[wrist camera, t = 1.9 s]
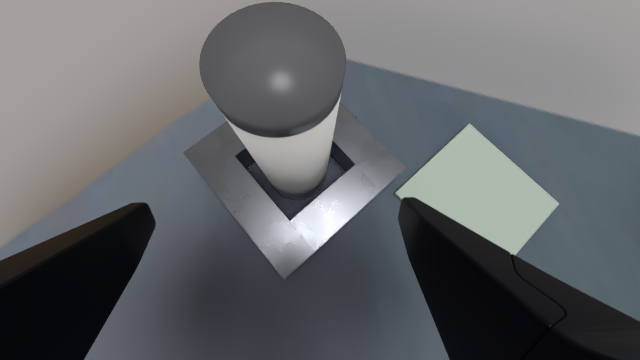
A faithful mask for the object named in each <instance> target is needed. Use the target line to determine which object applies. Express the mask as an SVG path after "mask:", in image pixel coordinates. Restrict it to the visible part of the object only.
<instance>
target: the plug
mask: <svg viewBox="0 0 640 360" xmlns="http://www.w3.org/2000/svg"><path fill="white" fill-rule="evenodd" d="M345 68H346V55H345V49H344V46H343V43H342V41H341V39H340V37H339V35H338V33H337V32H336V31H335V29H334V28H333V27H332V26H331V25H330V23H329V22H328V21H326V20H325V19H324V18H323V17H321V16H320V15H318V14H317V13H315V12H313V11H311V10H309V9H307V8H304V7H301V6H298V5H294V4H290V3H282V2H268V3H260V4H254V5H251V6H247V7H245V8H242V9H240V10H238V11H236V12H234V13H232V14H230V15H229V16H227V17H226V18H225V19H223V20H222V21H221V22H220V23H219V24H217V26H215V28H214V29H213V30H212V31H211V33H210V34H209V35H208V37H207V39H206V41H205V43H204V45H203V48H202V51H201V55H200V75H201V79H202V82H203V85H204V87H205V89H206V90H207V93H208V94H209V96H210V97H211V98H212V100H213V101H214V103H215V104H216V106H217V107H218V108H219V110H220V111H221V113H222V114H223V116H224V117H225V118H226V120H227V121H228V123H229V124H230V126H231V127H232V129H233V130H234V131H235V133H236V134H237V136H238V137H239V139H240V140H241V141H242V143H243V144H244V146H245V147H246V149H247V150H248V151H249V153H250V154H251V156H252V157H253V159H254V160H255V161H256V163H257V164H258V166H259V167H260V169H261V170H262V172H263V173H264V174H265V176H266V177H267V179H268V180H269V182H270V183H271V184H272V186H273V187H274V189H275V190H276V191H277V192H278V193H279V194H281V195H282V196H284V197H286V198H289V199H294V200H301V199H306V198H308V197H311V196H312V195H314V194H315V193H317V192H318V191H319V190H320V188H321V187H322V185H323V183H324V181H325V178H326V172H327V167H328V162H329V156H330V151H331V145H332V140H333V135H334V129H335V124H336V118H337V113H338V107H339V102H340V97H341V91H342V86H343V80H344V75H345Z"/></svg>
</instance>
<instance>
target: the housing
mask: <svg viewBox="0 0 640 360" xmlns="http://www.w3.org/2000/svg"><path fill="white" fill-rule="evenodd" d="M183 153H184V154H185V155H186V157H187V158H188V159H189V161H190V162H191V163H192V164H193V166H194V167H195V168H196V169H197V171H198V172H199V173H200V174H201V176H202V177H203V178H204V179H205V181H206V182H207V183H208V184H209V186H210V187H211V188H212V190H213V191H214V192H215V193H216V195H217V196H218V197H219V198H220V200H221V201H222V202H223V203H224V205H225V206H226V207H227V208H228V210H229V211H230V212H231V213H232V215H233V216H234V217H235V219H236V220H237V221H238V222H239V224H240V225H241V226H242V227H243V229H244V230H245V231H246V232H247V234H248V235H249V236H250V237H251V239H252V240H253V241H254V242H255V244H256V245H257V246H258V248H259V249H260V250H261V251H262V253H263V254H264V255H265V256H266V258H267V259H268V260H269V261H270V263H271V264H272V265H273V266H274V268H275V269H276V270H277V271H278V273H279V274H280V275H281V277H282V278H283V279H286V278H287V277H288V276H289V275H290V274H291V273H292V272H293V271H294V270H295V269H296V268H298V267H299V266H300V265H301V264H302V263H303V262H304V261H305V260H306V259H307V258H308V257H309V256H311V255H312V254H313V253H314V252H315V251H316V250H317V249H318V248H319V247H320V246H321V245H323V244H324V243H325V242H326V241H327V240H328V239H329V238H330V237H331V236H332V235H333V234H335V233H336V232H337V231H338V230H339V229H340V228H341V227H342V226H343V225H344V224H345V223H347V222H348V221H349V220H350V219H351V218H352V217H353V216H354V215H355V214H356V213H357V212H359V211H360V210H361V209H362V208H363V207H364V206H365V205H366V204H367V203H368V202H369V201H371V200H372V199H373V198H374V197H375V196H376V195H377V194H378V193H379V192H380V191H381V190H383V189H384V188H385V187H386V186H387V185H388V184H389V183H390V182H391V181H392V180H393V179H395V178H396V177H397V176H398V175H399V174H400V173H401V172H402V171H403V170H404V169H405V168H406V167H405V166H404V165H403V164H402V163H401V162H400V161H399V160H398V159H397V158H396V157H395V156H394V155H393V154H392V153H391V152H390V151H389V150H388V149H387V148H386V147H385V146H384V145H383V144H382V143H381V142H380V141H379V140H378V139H377V138H376V137H375V136H374V135H373V134H372V133H371V132H370V131H369V130H368V129H367V128H366V127H365V126H364V125H363V124H362V123H361V122H360V121H359V120H358V119H357V118H356V117H355V116H354V115H353V114H352V113H351V112H350V111H349V110H348V109H347V108H346V107H345V106H344V105H343V104H342V103H341V102H339V107H338V113H337V118H336V124H335V129H334V135H333V140H332V145H331V151H330V155H331V156H332V157H333V158H334V159H335V160H336V161H337V162H338V163H339V164H340V165H341V166H342V167H343V169H344V170H345V171H346V173H345V174H344V175H343V176H341V177H340V178H339V179H338V180H337V181H336V182H334V183H333V184H332V185H331V186H330V187H329V188H327V189H326V190H325V191H324V192H323V193H322V194H320V195H319V196H318V197H317V198H316V199H315V200H314V201H312V202H311V203H310V204H309V205H308V206H307V207H305V208H304V209H303V210H302V211H301V212H300V213H298V214H297V215H296V216H295V217H294V218H293V219H292V220H289V219H288V218H287V217H286V216H285V214H284V213H283V212H282V211H281V210H280V209H279V207H278V206H277V205H276V204H275V203H274V201H273V200H272V199H271V198H270V197H269V195H268V194H267V193H266V192H265V191H264V190H263V188H262V187H261V186H260V185H259V184H258V182H257V181H256V180H255V179H254V178H253V177H252V175H251V174H250V173H249V172H248V171H247V169H246V167H248V166H249V165H250V164H251V163H253V162H254V161H255V160H254V159H253V157H252V156H251V154H250V153H249V151H248V150H247V149H246V147H245V146H244V144H243V143H242V141H241V140H240V139H239V137H238V136H237V134H236V133H235V131H234V130H233V129H232V127H231V126H230V124H229V123H228V121H227V122H225V123H224V124H223V125H221V126H220V127H218V128H217V129H216V130H214V131H213V132H211V133H210V134H209V135H207V136H206V137H204V138H203V139H202V140H200V141H199V142H197V143H196V144H195V145H193V146H192V147H190V148H189V149H188V150H186V151H185V152H183Z"/></svg>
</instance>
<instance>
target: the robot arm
mask: <svg viewBox="0 0 640 360" xmlns="http://www.w3.org/2000/svg"><path fill="white" fill-rule="evenodd" d="M398 221H399V225H400V229H401V232H402V236H403V239H404V243H405V247H406V250H407V254H408V257H409V260H410V263H411V265H412V268H413V270H414V273H415V275H416V278H417V280H418V282H419V285H420V287H421V290H422V292H423V295H424V297H425V300H426V302H427V305H428V307H429V310H430V312H431V314H432V317H433V319H434V322H435V324H436V327H437V329H438V332H439V334H440V337H441V339H442V341H443V344H444V346H445V349H446V351H447V354H448V356H449V359H450V360H640V321H638V320H636V319H634V318H632V317H630V316H628V315H626V314H624V313H622V312H620V311H618V310H616V309H614V308H612V307H611V306H609V305H607V304H605V303H603V302H601V301H599V300H597V299H595V298H593V297H591V296H589V295H587V294H585V293H583V292H581V291H579V290H578V289H576V288H574V287H572V286H570V285H568V284H566V283H564V282H562V281H560V280H558V279H557V278H555V277H553V276H551V275H549V274H547V273H545V272H544V271H542V270H540V269H538V268H536V267H535V266H533V265H531V264H529V263H528V262H526V261H524V260H522V259H521V258H519V257H517V256H515V255H514V254H510V252H508V251H507V250H505V249H503V248H502V247H500V246H498V245H496V244H495V243H493V242H491V241H489V240H488V239H486V238H484V237H483V236H481V235H479V234H477V233H476V232H474V231H472V230H470V229H469V228H467V227H465V226H464V225H462V224H460V223H458V222H457V221H455V220H453V219H451V218H450V217H448V216H446V215H445V214H443V213H441V212H439V211H438V210H436V209H434V208H432V207H431V206H429V205H427V204H426V203H424V202H422V201H420V200H419V199H417V198H415V197H404V198H403V199H402V201H401V205H400V210H399V215H398ZM155 225H156V222H155V219H154V217H153V214H152V212H151V210H150V208H149V206H148V204H147V203H131V204H128V205H126V206H124V207H122V208H119V209H117V210H115V211H112V212H110V213H108V214H106V215H103V216H101V217H99V218H96V219H94V220H92V221H90V222H87V223H85V224H83V225H81V226H78V227H76V228H74V229H71V230H69V231H67V232H65V233H62V234H60V235H58V236H55V237H53V238H51V239H49V240H46V241H44V242H42V243H40V244H37V245H35V246H33V247H30V248H28V249H26V250H24V251H21V252H19V253H17V254H14V255H12V256H10V257H8V258H5V259H3V260H1V261H0V360H84V359H85V357H86V355H87V353H88V352H89V350H90V348H91V346H92V345H93V343H94V341H95V339H96V338H97V336H98V334H99V333H100V331H101V329H102V327H103V326H104V324H105V322H106V320H107V319H108V317H109V315H110V314H111V312H112V310H113V308H114V307H115V305H116V303H117V301H118V300H119V298H120V296H121V294H122V293H123V291H124V289H125V288H126V286H127V284H128V282H129V281H130V279H131V277H132V275H133V274H134V272H135V270H136V268H137V266H138V264H139V262H140V260H141V258H142V256H143V253H144V251H145V249H146V247H147V245H148V242H149V240H150V238H151V236H152V233H153V231H154V229H155Z"/></svg>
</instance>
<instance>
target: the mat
mask: <svg viewBox="0 0 640 360" xmlns="http://www.w3.org/2000/svg"><path fill="white" fill-rule="evenodd" d="M394 194H395V195H396V196H397V197H398V198H399V200H400V201H402V199H403V198H404V197H415V198H417V199H419V200H420V201H422V202H424V203H426V204H427V205H429V206H431V207H432V208H434V209H436V210H438V211H439V212H441V213H443V214H445V215H446V216H448V217H450V218H451V219H453V220H455V221H457V222H458V223H460V224H462V225H464V226H465V227H467V228H469V229H470V230H472V231H474V232H476V233H477V234H479V235H481V236H483V237H484V238H486V239H488V240H489V241H491V242H493V243H495V244H496V245H498V246H500V247H502V248H503V249H505V250H507V251H508V252H510V254H514V255H516V254H517V252H518V251H519V250H520V249H521V248H522V247H523V245H524V244H525V243H526V242H527V241H528V240H529V238H530V237H531V236H532V235H533V234H534V233H535V231H536V230H537V229H538V228H539V227H540V226H541V224H542V223H543V222H544V221H545V220H546V219H547V217H548V216H549V215H550V214H551V213H552V212H553V210H554V209H555V208H556V207H557V206H558V205H559V203H558V202H557V201H556V200H555V199H553V198H552V197H551V196H550V195H549V194H548V193H547V192H546V191H544V190H543V189H542V188H541V187H540V186H539V185H538V184H537V183H535V182H534V181H533V180H532V179H531V178H530V177H529V176H528V175H527V174H525V173H524V172H523V171H522V170H521V169H520V168H519V167H518V166H516V165H515V164H514V163H513V162H512V161H511V160H510V159H509V158H507V157H506V156H505V155H504V154H503V153H502V152H501V151H500V150H498V149H497V148H496V147H495V146H494V145H493V144H492V143H491V142H490V141H488V140H487V139H486V138H485V137H484V136H483V135H482V134H481V133H479V132H478V131H477V130H476V129H475V128H474V127H473V126H472V125H470V124H468V125H467V126H466V127H465V128H464V129H463V130H462V131H461V132H460V133H458V134H457V135H456V136H455V137H454V138H453V139H452V140H451V141H450V142H449V143H448V144H447V145H446V146H445V147H443V148H442V149H441V150H440V151H439V152H438V153H437V154H436V155H435V156H434V157H433V158H432V159H431V160H430V161H428V162H427V163H426V164H425V165H424V166H423V167H422V168H421V169H420V170H419V171H418V172H417V173H416V174H415V175H413V176H412V177H411V178H410V179H409V180H408V181H407V182H406V183H405V184H404V185H403V186H402V187H401V188H400V189H399V190H397V191H396V192H395V193H394Z"/></svg>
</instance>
